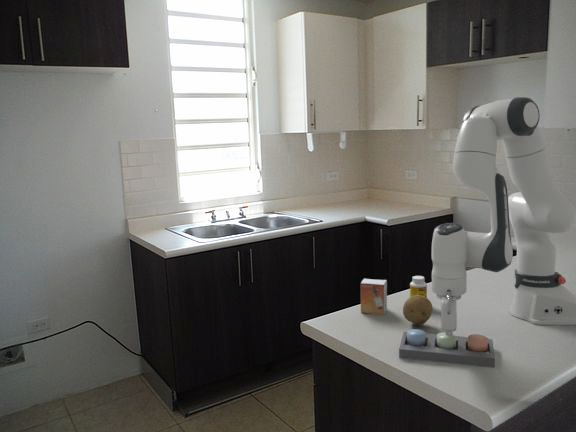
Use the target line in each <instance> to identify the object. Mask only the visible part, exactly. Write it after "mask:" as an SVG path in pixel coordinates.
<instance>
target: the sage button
mask: <svg viewBox="0 0 576 432" xmlns="http://www.w3.org/2000/svg"><path fill="white" fill-rule="evenodd" d="M436 334H437V347H436V348H443V349H454V350H457V349H456V336H457V335H456V334H453V335H452V336H447V335H446V332H439V333H436Z"/></svg>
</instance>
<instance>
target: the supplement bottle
mask: <svg viewBox="0 0 576 432" xmlns="http://www.w3.org/2000/svg"><path fill="white" fill-rule="evenodd" d="M425 280H426V279H425V277H424V276H422V275H415V276H412V281H411V282H410V283H409V298H410V297H411V296H414V295H422V296H425V297H426V298H427V295H428V293H427V292H428V290H427V289H428V284H427V282H425ZM427 299H428V298H427Z"/></svg>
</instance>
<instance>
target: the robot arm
mask: <svg viewBox="0 0 576 432" xmlns="http://www.w3.org/2000/svg"><path fill="white" fill-rule="evenodd" d="M540 117H541V116H540V109H539V107H538V105H537V103H535V101H534V100H533V99H532V98H529V97H526V96H525V97H524V96H521V97H519V96H518V97H514V98H507V99H499V100H495V101H491V102H489V103H486V104H482V105H476V106H474V107H471V108H470V109H468V110H467V111H466V112H465V113H464V116H463V118H462V121H461V126H460V129H459V131H458V134H457V139H456V142H455V146H454V147H455V148H454V152H453V153H454V154H453V161H452V171H453V172H452V173H453V175H454V176H455V178H456V179H457V181H458V182H459V183H460V184H462V185H464V186H466V187H467V188H469V189H471V190H472V191H473V190H474V191H476V192H478V193H480V194H482V195H484V196H485V197H486V198H487V200H488V202H489V212H490V213H489V215H490V232H487V233H486V232H477V231H470V230H469V231H468V230H465V228H464V226H463V225H461V224H459V223H454V222H446V223H441V224H439V225H437V226H436V227H435V228H434V230H433V233H432V239H431V240H432V241H431V261H432V270H431V292H432V293H434V294H436V298H438V299H439V300H441V302H440V303H441V305H440V306H441V308H440V309H441V310H440V313H441V314H440V316H441V317H440V318H441V320H440V323H441V324H440V325H441V326H440V327H441V331H444V332H445V333H446V335H447V336H452V335H453V332H456V331H457V325H458V324H457V318H458V317H457V301H458V300H460V299H462V295H465V294H466V293H467V277H468V276H467V275H468V274H467V271H466V267H468V268H474V269H481V270H484V271H488V272H493V273H499V272H501V271H503V270H505V269H506V268H508V267H509V266H511V264H512V261H513V256H514V255H513V252H514V251H513V244H512V243H513V242H512V237H511V227H512V231H513V234H514V238H515V243H516V244H515V245H516V268H515V269H514V275H513V285H514V292H513V296H512V297H513V298H512V302H511V304H510V308H509V313H510V314H511V315H512V316H514V317H516V318H518V319H521V320H525V321H528V322H530V323H532V324H534V325H540V326H542V325H549V326H550V325H551V326H552V325H554V326H555V325H556V326H557V325H558V326H561V325H563V326H565V325H566V326H567V325H568V326H569V325H570V326H576V294H575V293H574V292H573V291H571V290H570V289H569V288H567V287H566V286H564V284H566V283H567V280H566V277H564V276H562V274H560V273H559V272H557V271H556V259H557V258H556V257H557V249H556V246H555V244H554V243H553V241H552V240H551V237H550V235H549V233H550V234H551V233H552V234H553V233H554V234H557V233H560V234H561V233H565V232H567V231H569V230H570V229H571V228H572V227H573V226H574V224H575V222H576V208H575V206H574V205H573V204H572V203H571V202H570V201H569V200H568V199H567V198H566V197H565V196H564V194H563V193H562V191H561V189H560V187H559V186H558V184H557V181H556V180H555V179H554V176H553V174H552V172H551V171H552V170H551V169H550V163H549V161H548V155H547V152H546V151H547V150H546V146H545V142H544V139H543V136H542V133H541V131H540V128H539V122H540ZM499 140H500V141H501V140H502V143H503V144H502V145H503V151H504V156H505V162H506V165H507V170H508V173H509V178H510V180H511V182H512V183H513V185H514V186H515V187H516V188H517V189H518V192H514V193H512V194H510V195H509V196H508V187H507V181H506V179H505V177H504V176H503V174H501V173H500V172H499V171H498V169H497V163H496V160H497V152H498V151H497V147H498V141H499ZM510 223H511V227H510Z"/></svg>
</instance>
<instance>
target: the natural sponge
mask: <svg viewBox="0 0 576 432" xmlns="http://www.w3.org/2000/svg"><path fill="white" fill-rule="evenodd" d="M433 311H434V310H433V304H432V302H431V300H429V299H428V298H426V297H425V296H422V295H414V296H411V297H410V296H409V298H407V299H406V300H405V301H404V304H403V307H402V314H403V316H404V318H405V319H406V321H408V322H410V323H412V324H413V325H414V326H416V327H420V326H422V325H425V324H426V323H427V322H428V320H429V319H430V317H431V316H432V313H433Z"/></svg>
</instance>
